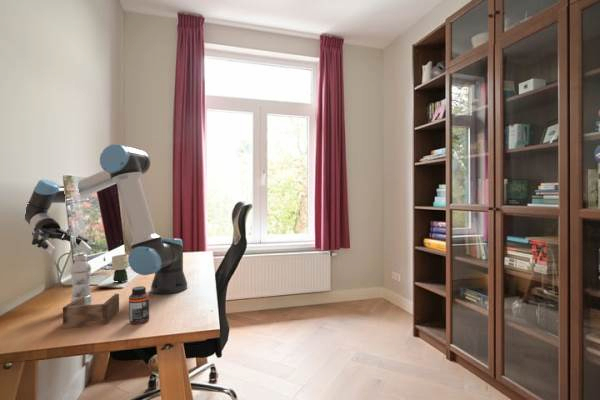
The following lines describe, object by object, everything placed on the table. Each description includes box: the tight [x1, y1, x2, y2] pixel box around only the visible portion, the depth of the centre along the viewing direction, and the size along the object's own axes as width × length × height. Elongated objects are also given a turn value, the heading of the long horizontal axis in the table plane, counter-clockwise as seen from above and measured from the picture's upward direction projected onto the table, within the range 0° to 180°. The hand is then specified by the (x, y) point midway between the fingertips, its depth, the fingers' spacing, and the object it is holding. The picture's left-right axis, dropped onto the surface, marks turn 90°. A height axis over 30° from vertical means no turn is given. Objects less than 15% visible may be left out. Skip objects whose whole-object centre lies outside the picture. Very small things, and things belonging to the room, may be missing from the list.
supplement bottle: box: [128, 285, 150, 325], centre depth 106 cm, size 6×6×11 cm
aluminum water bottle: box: [69, 253, 93, 305], centre depth 120 cm, size 6×7×20 cm
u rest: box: [62, 293, 120, 329], centre depth 108 cm, size 12×12×6 cm
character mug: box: [111, 254, 130, 282], centre depth 157 cm, size 11×7×13 cm, turn 62°
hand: (72, 251), depth 125 cm, fingers open, 13 cm apart
